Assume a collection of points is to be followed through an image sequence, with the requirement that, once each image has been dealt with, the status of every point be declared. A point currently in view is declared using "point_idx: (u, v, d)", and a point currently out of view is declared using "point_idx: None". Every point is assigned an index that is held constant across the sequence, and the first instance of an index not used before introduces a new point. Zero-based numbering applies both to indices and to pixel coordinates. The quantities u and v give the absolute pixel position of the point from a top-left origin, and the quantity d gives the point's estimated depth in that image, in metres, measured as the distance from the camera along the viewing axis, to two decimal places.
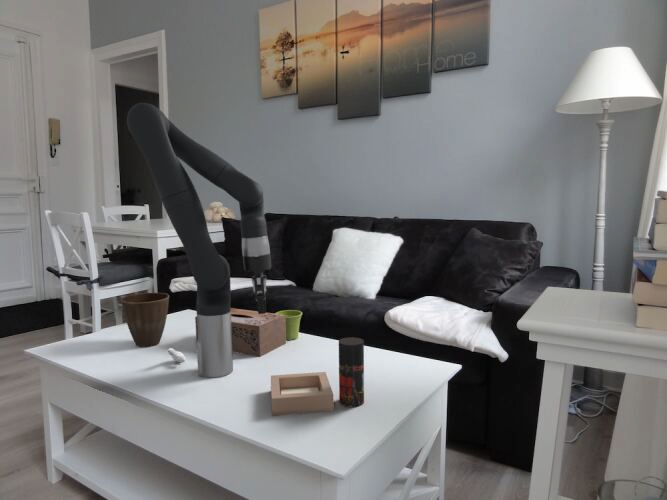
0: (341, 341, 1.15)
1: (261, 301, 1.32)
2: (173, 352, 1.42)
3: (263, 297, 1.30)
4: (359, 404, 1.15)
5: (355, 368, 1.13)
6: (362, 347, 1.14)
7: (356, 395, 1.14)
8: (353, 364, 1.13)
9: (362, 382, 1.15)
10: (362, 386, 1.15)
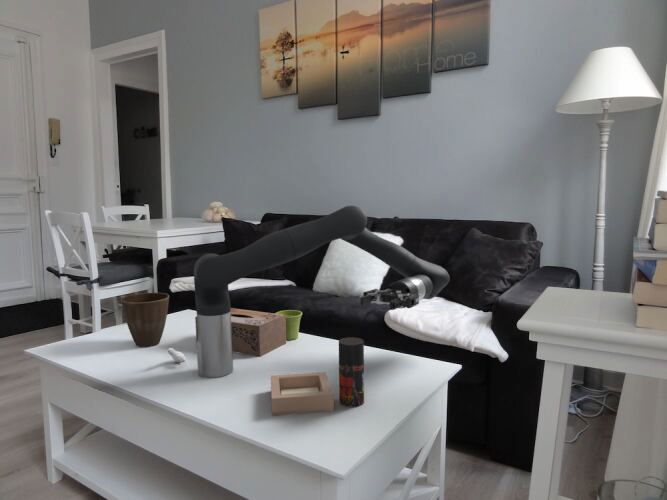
0: (341, 341, 1.15)
1: (401, 304, 1.23)
2: (173, 352, 1.42)
3: (410, 306, 1.23)
4: (359, 404, 1.15)
5: (355, 368, 1.13)
6: (362, 347, 1.14)
7: (356, 395, 1.14)
8: (353, 364, 1.13)
9: (362, 382, 1.15)
10: (362, 386, 1.15)
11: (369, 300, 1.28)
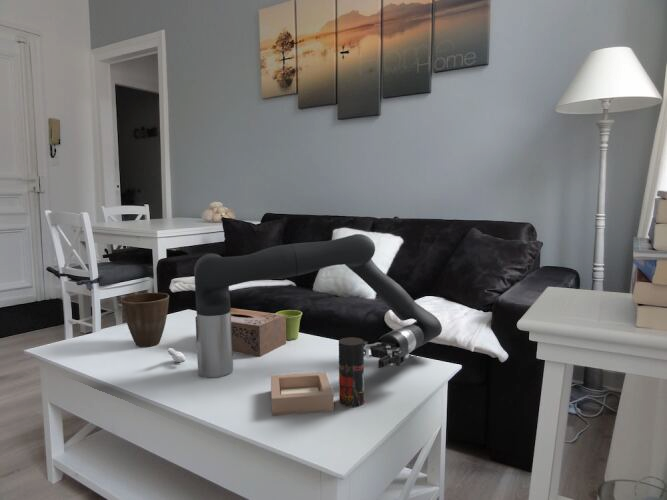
0: (341, 341, 1.15)
1: (390, 361, 1.21)
2: (173, 352, 1.42)
3: (399, 364, 1.21)
4: (359, 404, 1.15)
5: (355, 368, 1.13)
6: (362, 347, 1.14)
7: (356, 395, 1.14)
8: (353, 364, 1.13)
9: (362, 382, 1.15)
10: (362, 386, 1.15)
11: None
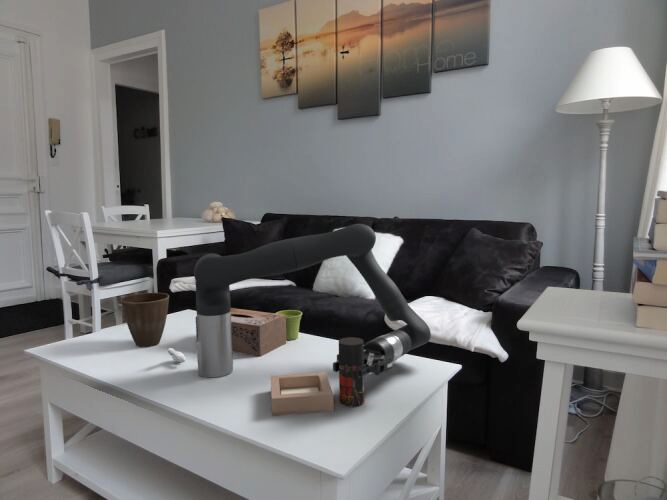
0: (341, 341, 1.15)
1: (369, 370, 1.14)
2: (173, 352, 1.42)
3: (378, 373, 1.15)
4: (359, 404, 1.15)
5: (355, 367, 1.13)
6: (362, 347, 1.14)
7: (356, 395, 1.14)
8: (353, 364, 1.13)
9: (362, 382, 1.15)
10: (362, 386, 1.15)
11: None
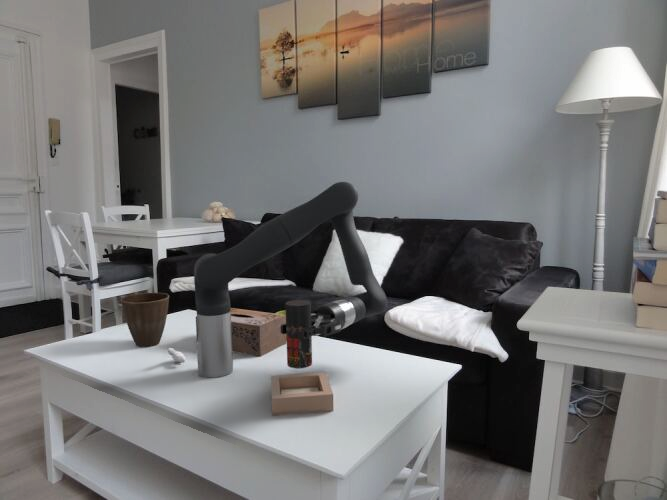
0: (288, 303, 1.15)
1: (315, 331, 1.15)
2: (173, 352, 1.42)
3: (325, 334, 1.15)
4: (306, 365, 1.15)
5: (301, 329, 1.13)
6: (308, 308, 1.14)
7: (302, 356, 1.14)
8: (299, 325, 1.13)
9: (309, 344, 1.15)
10: (309, 348, 1.15)
11: None
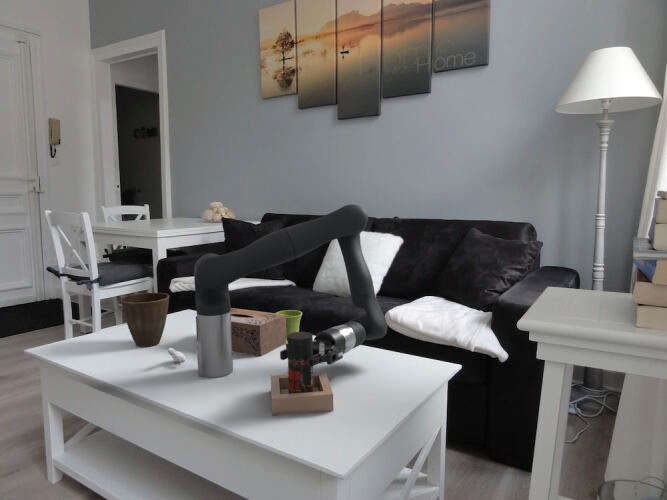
0: (290, 335, 1.16)
1: (321, 360, 1.15)
2: (173, 352, 1.42)
3: (331, 362, 1.15)
4: None
5: (303, 361, 1.14)
6: (310, 341, 1.15)
7: (303, 389, 1.15)
8: (301, 358, 1.14)
9: (311, 376, 1.16)
10: (310, 380, 1.16)
11: None
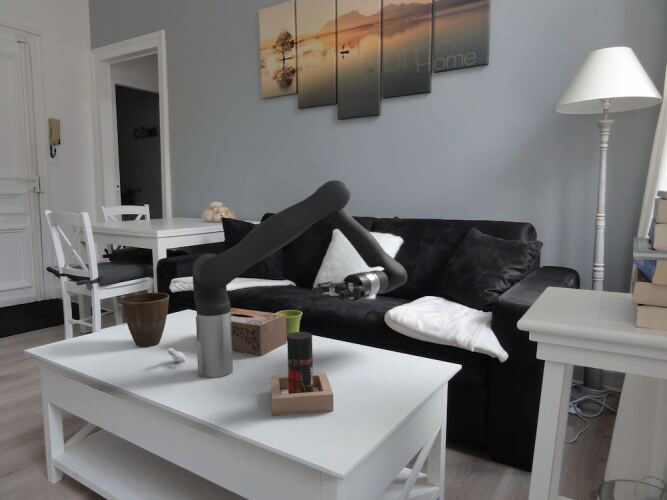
0: (290, 335, 1.17)
1: (351, 295, 1.27)
2: (173, 352, 1.42)
3: (359, 297, 1.28)
4: None
5: (303, 361, 1.15)
6: (310, 341, 1.15)
7: (303, 389, 1.15)
8: (300, 358, 1.14)
9: (311, 376, 1.16)
10: (310, 380, 1.16)
11: (322, 291, 1.33)
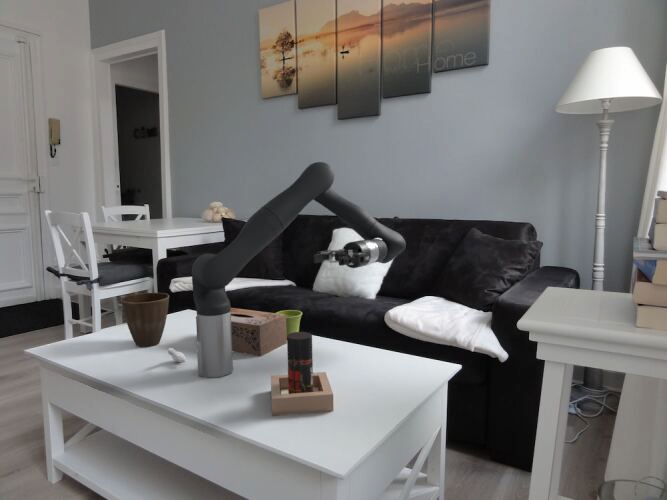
0: (290, 335, 1.16)
1: (351, 260, 1.29)
2: (173, 352, 1.42)
3: (359, 263, 1.29)
4: None
5: (302, 362, 1.14)
6: (310, 341, 1.15)
7: (303, 389, 1.15)
8: (300, 358, 1.14)
9: (311, 376, 1.16)
10: (310, 380, 1.16)
11: (322, 258, 1.34)
